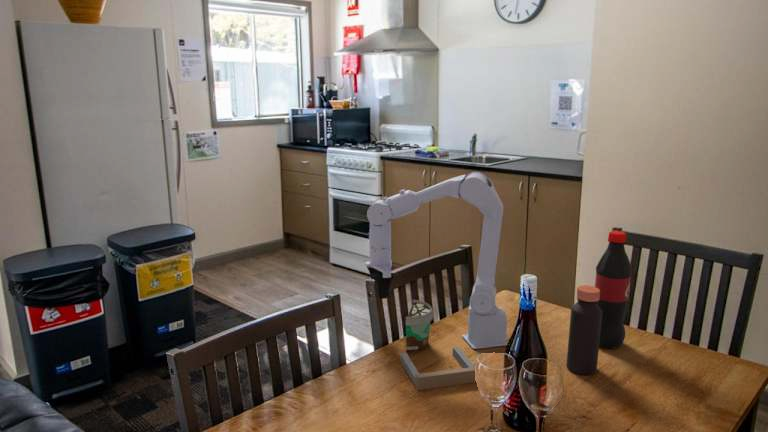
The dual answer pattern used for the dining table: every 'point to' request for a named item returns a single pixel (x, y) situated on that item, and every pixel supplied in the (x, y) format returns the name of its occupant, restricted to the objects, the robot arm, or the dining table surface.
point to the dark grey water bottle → (584, 331)
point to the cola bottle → (613, 290)
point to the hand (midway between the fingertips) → (380, 294)
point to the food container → (418, 326)
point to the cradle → (441, 373)
